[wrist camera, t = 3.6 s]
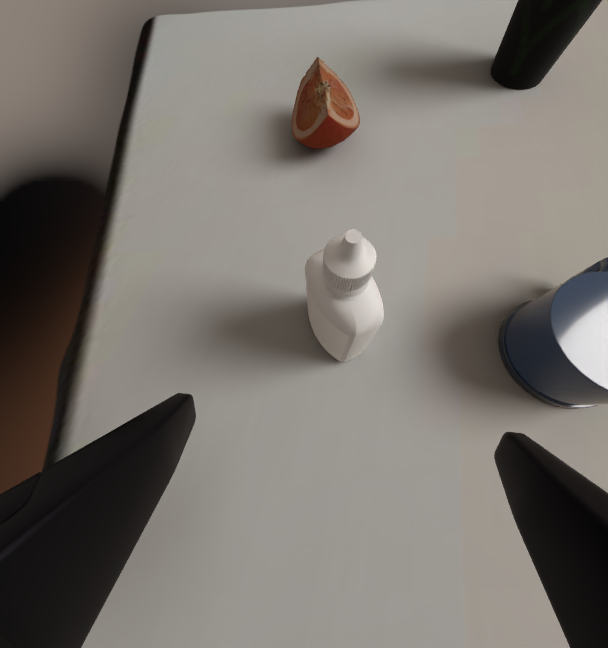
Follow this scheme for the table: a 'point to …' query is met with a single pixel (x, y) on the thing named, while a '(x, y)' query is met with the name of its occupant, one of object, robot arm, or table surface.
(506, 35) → the cup
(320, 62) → the fruit slice
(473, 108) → the table surface
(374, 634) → the table surface
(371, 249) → the eye dropper bottle
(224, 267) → the table surface
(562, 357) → the blue mug
